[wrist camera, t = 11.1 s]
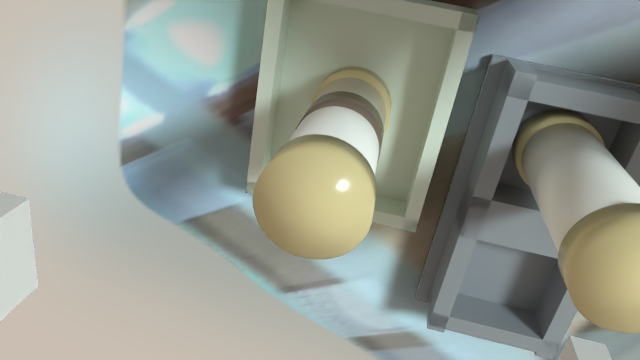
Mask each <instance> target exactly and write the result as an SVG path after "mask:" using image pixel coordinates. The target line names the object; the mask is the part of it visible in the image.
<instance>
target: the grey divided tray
mask: <svg viewBox="0 0 640 360" xmlns="http://www.w3.org/2000/svg"><path fill="white" fill-rule="evenodd" d="M553 109H564V110H570V111H573V112H576V113H578V114H580V115H581V116H583V117H584V118H585V119H587V121H588V122H589V123H590V124H591V125H592V126H593V127H594V128H595V129H596V131H597V132H598V133H599V134H600V136H601V137H602V139H603V141H604V145H605V148H606V149H607V150H608V151H609V152H610V153H611V154H612V156H613V157H614V158H615V159H616V160H617V161H618V162H619V164H620V165H621V166H622V167H623V168H624V169H625V170H626V172H627V173H628V174H629V175H630V176H631V177H632V179H633V180H634V181H635V182H636V183H637V184H638V185H639V187H640V84H635V83H630V82H625V81H620V80H615V79H611V78H606V77H601V76H596V75H591V74H586V73H581V72H576V71H571V70H567V69H562V68H557V67H552V66H547V65H542V64H537V63H532V62H527V61H523V60H518V59H513V58H508V57H503V56H498V55H493V54H492V55H491V59H490V62H489V65H488V68H487V71H486V74H485V77H484V81H483V84H482V87H481V90H480V93H479V96H478V99H477V103H476V106H475V109H474V112H473V115H472V118H471V121H470V125H469V128H468V131H467V134H466V137H465V140H464V143H463V147H462V150H461V153H460V156H459V159H458V162H457V165H456V169H455V172H454V175H453V178H452V181H451V184H450V187H449V191H448V194H447V197H446V200H445V203H444V206H443V209H442V213H441V216H440V219H439V222H438V225H437V228H436V231H435V235H434V238H433V241H432V244H431V247H430V250H429V253H428V257H427V260H426V263H425V266H424V269H423V272H422V275H421V279H420V282H419V285H418V288H417V291H416V294H415V299H416V300H420V301H424V302H427V328H428V329H432V330H436V331H440V332H444V330H445V329H446V330H450V331H454V332H458V333H462V334H466V335H470V336H474V337H478V338H482V339H486V340H489V341H493V342H497V343H501V344H505V345H509V346H513V347H517V348H521V349H525V350H529V351H533V352H534V353H535V356H539V357H543V358H547V359H551V360H552V359H553V357H554V355H555V353H556V351H557V349H558V347H559V345H560V343H561V341H562V339H563V338H564V336H565V334H566V332H567V330H568V328H569V326H570V324H571V322H572V320H573V318H574V316H575V314H576V312H577V308H576V307H575V305H574V303H573V302H572V299H571V297H570V295H569V292H568V290H567V287H566V285H565V282H564V280H563V278H562V275H561V273H560V270H559V265H558V251H557V249H556V247H555V244H554V242H553V240H552V237H551V235H550V233H549V231H548V228H547V226H546V224H545V221H544V219H543V217H542V214H541V212H540V210H539V207H538V205H537V203H536V201H535V198H534V196H533V194H532V191H531V189H530V187H529V186H528V185H527V184H526V183H525V182H524V180H523V179H522V178H521V176H520V174H519V171H518V169H517V167H516V164H515V162H514V159H513V155H512V144H513V141H514V138H515V135H516V133H517V131H518V130H519V128H520V127H521V126H522V125H523V124H524V123H525V122H526V121H527V120H528V119H530V118H531V117H533V116H534V115H536V114H538V113H541V112H544V111H547V110H553Z"/></svg>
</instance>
